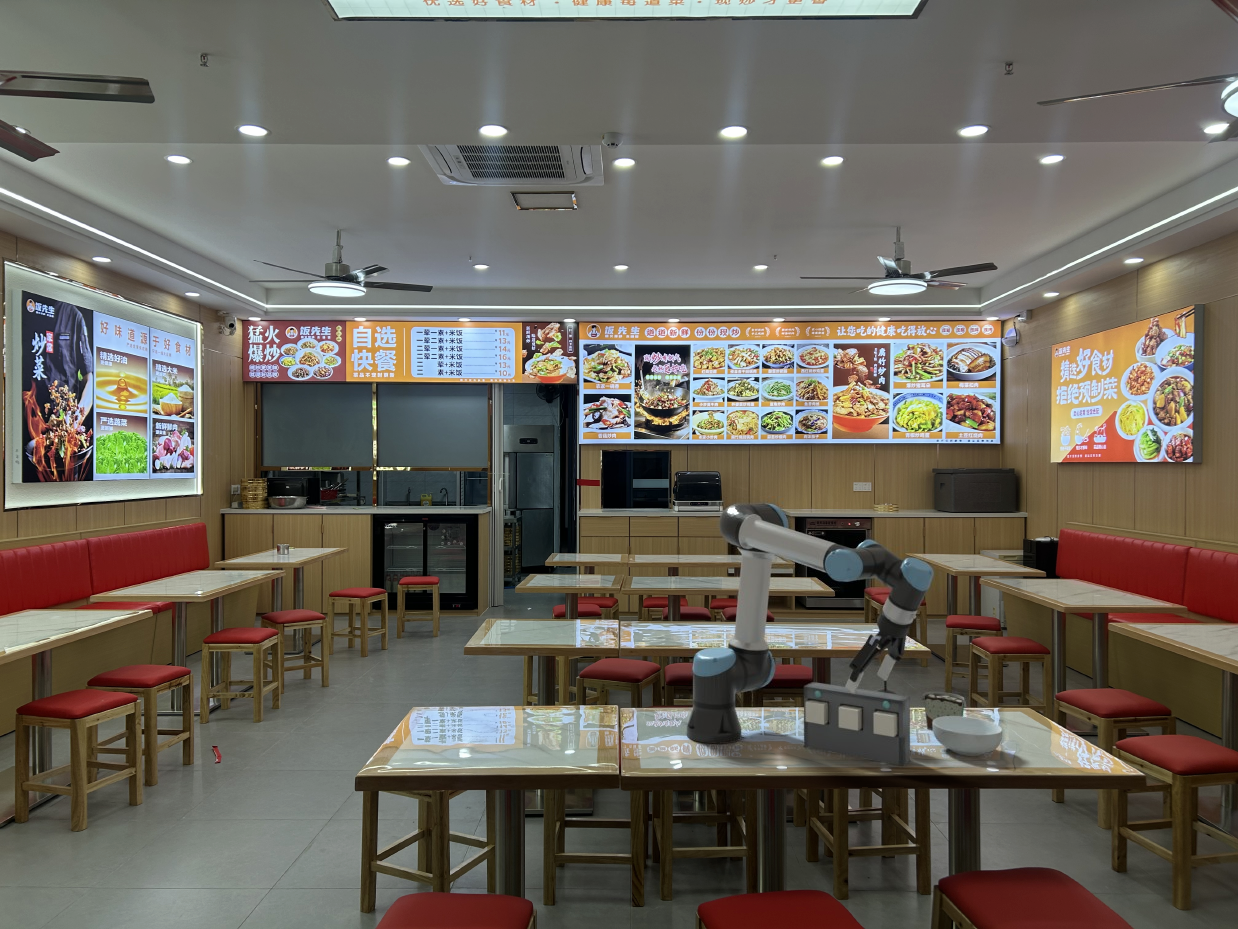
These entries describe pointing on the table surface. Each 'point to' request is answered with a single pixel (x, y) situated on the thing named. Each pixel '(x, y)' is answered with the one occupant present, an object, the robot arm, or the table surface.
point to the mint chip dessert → (942, 706)
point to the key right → (886, 723)
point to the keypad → (863, 739)
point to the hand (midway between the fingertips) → (866, 683)
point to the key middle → (851, 717)
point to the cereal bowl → (967, 734)
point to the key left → (817, 711)
